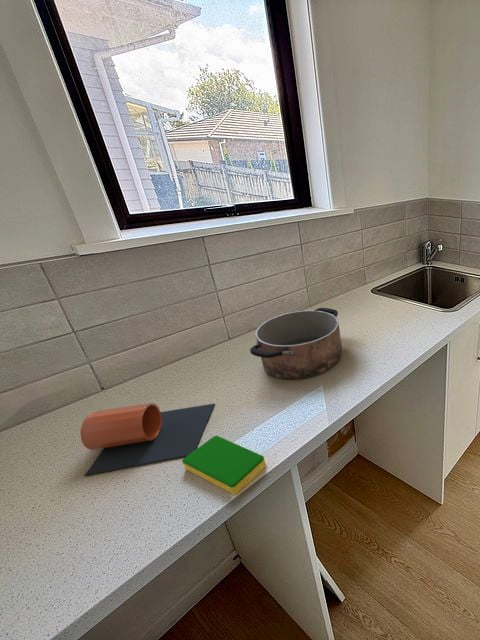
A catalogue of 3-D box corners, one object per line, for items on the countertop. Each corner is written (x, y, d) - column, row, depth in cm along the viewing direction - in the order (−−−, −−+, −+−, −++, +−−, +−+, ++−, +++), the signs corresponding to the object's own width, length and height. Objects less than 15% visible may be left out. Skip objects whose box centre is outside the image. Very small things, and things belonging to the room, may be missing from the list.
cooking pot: (300, 397, 84) (292, 360, 79) (234, 377, 91) (223, 343, 86) (362, 342, 109) (360, 312, 104) (307, 330, 116) (302, 301, 111)
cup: (73, 429, 63) (136, 419, 65) (98, 403, 69) (153, 395, 72) (91, 458, 66) (150, 448, 68) (112, 431, 73) (165, 422, 75)
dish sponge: (235, 495, 59) (231, 486, 58) (184, 469, 64) (180, 460, 63) (267, 465, 65) (264, 456, 64) (218, 443, 70) (215, 434, 69)
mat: (85, 476, 63) (84, 474, 63) (127, 418, 77) (126, 417, 76) (193, 455, 67) (193, 453, 67) (215, 404, 81) (214, 403, 81)
